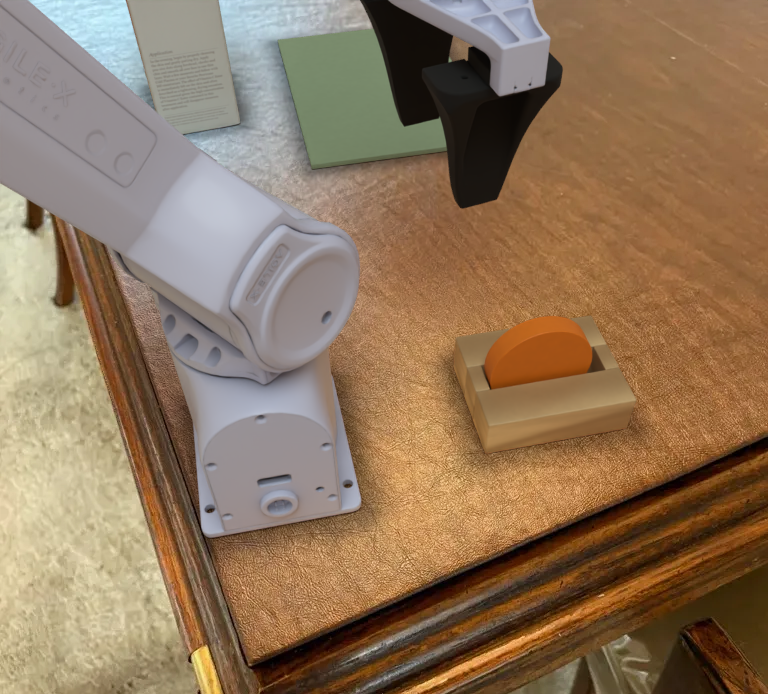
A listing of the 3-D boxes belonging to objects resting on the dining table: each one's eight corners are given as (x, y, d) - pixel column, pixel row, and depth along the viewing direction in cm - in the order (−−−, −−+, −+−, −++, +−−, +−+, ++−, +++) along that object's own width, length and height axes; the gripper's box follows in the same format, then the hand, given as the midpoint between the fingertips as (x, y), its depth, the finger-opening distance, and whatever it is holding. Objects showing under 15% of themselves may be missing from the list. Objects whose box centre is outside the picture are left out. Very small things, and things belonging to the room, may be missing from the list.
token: (588, 392, 44) (596, 319, 40) (491, 416, 44) (488, 347, 40) (581, 376, 45) (588, 304, 40) (485, 401, 45) (481, 331, 40)
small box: (148, 89, 66) (101, -91, 56) (224, 76, 67) (191, -103, 57) (161, 140, 61) (112, -47, 51) (242, 125, 62) (210, -60, 52)
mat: (494, 144, 60) (494, 140, 60) (311, 169, 58) (311, 164, 58) (430, 26, 72) (430, 21, 72) (278, 44, 70) (277, 39, 70)
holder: (627, 429, 43) (637, 399, 41) (484, 454, 42) (488, 425, 40) (583, 344, 47) (591, 314, 45) (452, 366, 46) (455, 336, 44)
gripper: (650, -115, 26) (584, 220, 37) (474, -230, 35) (462, 73, 46) (455, -77, 25) (445, 258, 36) (320, -205, 33) (346, 100, 44)
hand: (446, 157), depth 41 cm, fingers open, 7 cm apart
